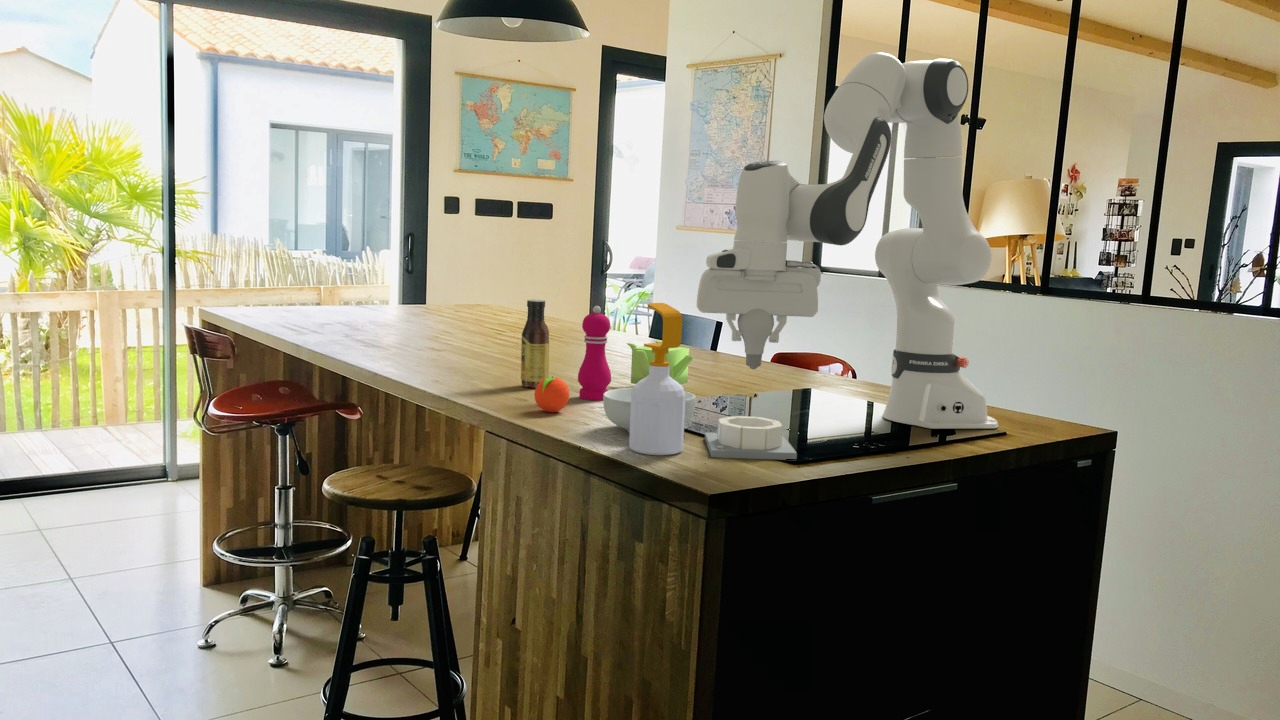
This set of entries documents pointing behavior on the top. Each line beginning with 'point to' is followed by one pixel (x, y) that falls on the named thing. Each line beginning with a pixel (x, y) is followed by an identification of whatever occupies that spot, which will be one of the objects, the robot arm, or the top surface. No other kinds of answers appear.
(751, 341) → the lightbulb
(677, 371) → the kettle
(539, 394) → the clementine
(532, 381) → the sauce bottle
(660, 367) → the soap bottle
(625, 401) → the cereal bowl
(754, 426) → the socket ring
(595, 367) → the pepper mill
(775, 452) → the mounting plate
